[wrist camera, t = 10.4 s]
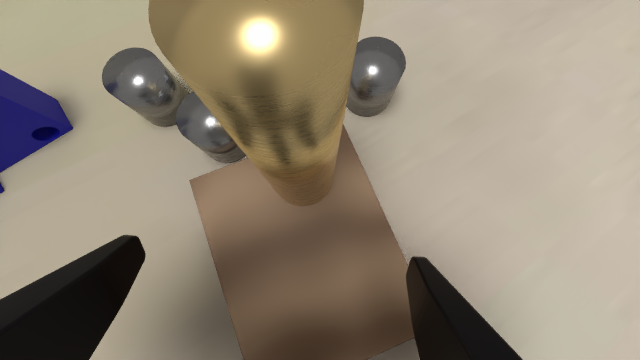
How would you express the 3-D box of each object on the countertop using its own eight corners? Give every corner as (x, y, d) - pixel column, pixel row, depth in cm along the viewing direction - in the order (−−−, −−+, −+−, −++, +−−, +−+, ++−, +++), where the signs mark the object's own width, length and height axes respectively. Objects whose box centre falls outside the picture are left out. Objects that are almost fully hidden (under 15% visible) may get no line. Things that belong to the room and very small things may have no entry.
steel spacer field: (397, 106, 20) (415, 75, 16) (167, 194, 19) (127, 182, 15) (349, 15, 22) (356, -33, 18) (137, 87, 21) (95, 52, 17)
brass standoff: (342, 192, 17) (400, 46, 5) (285, 215, 17) (180, 126, 4) (319, 139, 18) (315, -103, 6) (264, 160, 18) (127, -47, 5)
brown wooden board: (426, 319, 17) (436, 327, 16) (264, 394, 16) (258, 409, 15) (340, 131, 20) (342, 122, 18) (199, 184, 19) (189, 180, 18)
